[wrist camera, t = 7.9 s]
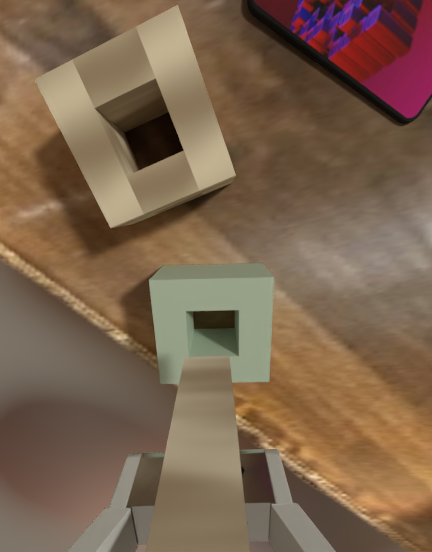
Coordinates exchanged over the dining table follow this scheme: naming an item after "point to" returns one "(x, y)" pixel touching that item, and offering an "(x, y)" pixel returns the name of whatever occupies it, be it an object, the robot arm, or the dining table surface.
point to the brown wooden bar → (201, 467)
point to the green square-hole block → (213, 297)
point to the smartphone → (363, 45)
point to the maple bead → (139, 119)
